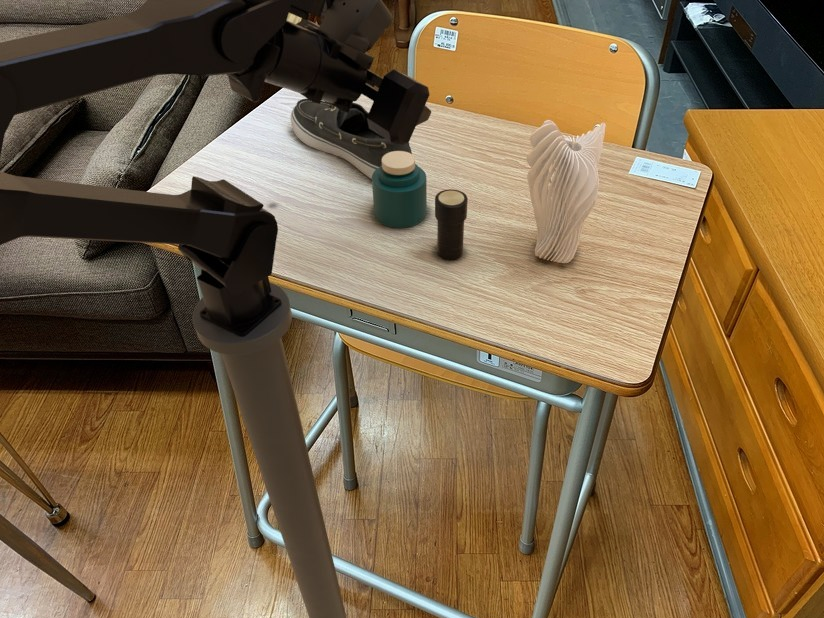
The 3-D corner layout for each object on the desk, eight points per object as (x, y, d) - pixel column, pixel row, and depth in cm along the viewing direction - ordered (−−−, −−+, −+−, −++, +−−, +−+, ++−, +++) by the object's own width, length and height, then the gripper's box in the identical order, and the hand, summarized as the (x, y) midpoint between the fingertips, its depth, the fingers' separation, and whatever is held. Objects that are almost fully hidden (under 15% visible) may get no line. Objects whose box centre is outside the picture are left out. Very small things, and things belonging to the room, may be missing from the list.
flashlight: (455, 265, 81) (457, 210, 75) (429, 255, 82) (428, 200, 76) (470, 249, 83) (473, 194, 77) (444, 239, 84) (445, 185, 79)
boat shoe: (323, 111, 108) (318, 67, 103) (433, 171, 96) (433, 125, 91) (279, 130, 104) (271, 85, 99) (388, 195, 91) (386, 147, 86)
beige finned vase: (592, 239, 85) (620, 106, 72) (579, 278, 80) (607, 142, 67) (529, 226, 87) (546, 94, 74) (513, 263, 81) (528, 127, 69)
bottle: (408, 234, 85) (406, 180, 80) (364, 217, 88) (359, 163, 82) (436, 207, 89) (436, 154, 84) (393, 192, 92) (390, 140, 86)
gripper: (400, 9, 56) (493, 60, 69) (270, -57, 64) (375, 0, 77) (350, 132, 60) (446, 159, 73) (234, 55, 68) (339, 92, 81)
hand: (401, 98), depth 76 cm, fingers open, 9 cm apart
